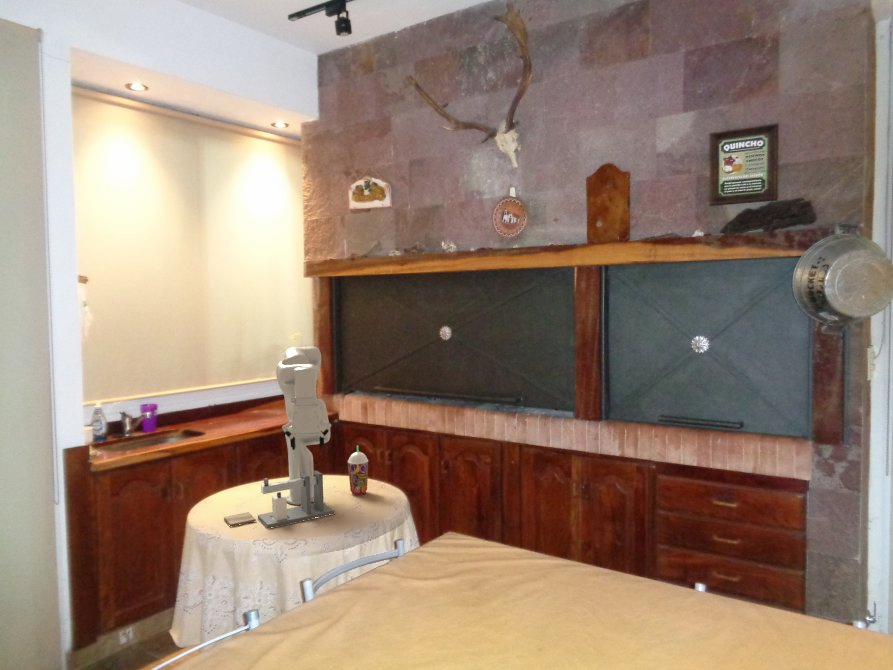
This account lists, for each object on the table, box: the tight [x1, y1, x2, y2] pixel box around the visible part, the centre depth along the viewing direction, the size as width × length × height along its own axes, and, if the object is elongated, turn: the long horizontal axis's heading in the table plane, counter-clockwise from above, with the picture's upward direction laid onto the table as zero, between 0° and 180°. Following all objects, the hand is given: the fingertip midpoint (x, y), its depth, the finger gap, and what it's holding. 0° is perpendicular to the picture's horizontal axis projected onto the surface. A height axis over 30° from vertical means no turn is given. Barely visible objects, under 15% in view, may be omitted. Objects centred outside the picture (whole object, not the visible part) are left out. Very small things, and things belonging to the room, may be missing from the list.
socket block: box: [257, 470, 335, 529], centre depth 239 cm, size 12×25×15 cm, turn 123°
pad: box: [223, 511, 257, 527], centre depth 236 cm, size 9×9×1 cm
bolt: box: [260, 475, 318, 495], centre depth 236 cm, size 3×22×5 cm, turn 123°
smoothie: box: [347, 444, 369, 496], centre depth 264 cm, size 8×8×20 cm
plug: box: [271, 491, 288, 521], centre depth 234 cm, size 5×5×10 cm
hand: (307, 448), depth 232 cm, fingers open, 9 cm apart
